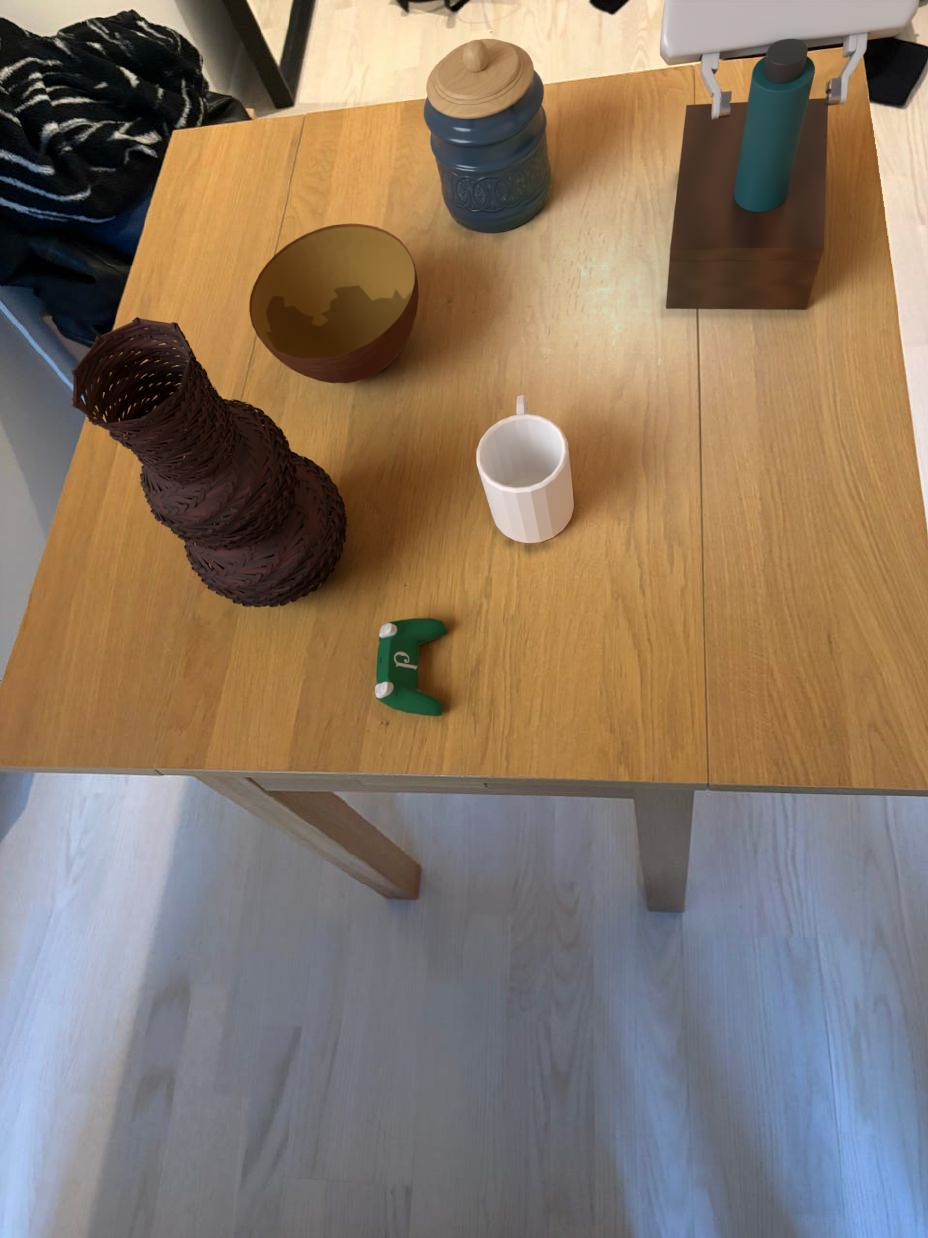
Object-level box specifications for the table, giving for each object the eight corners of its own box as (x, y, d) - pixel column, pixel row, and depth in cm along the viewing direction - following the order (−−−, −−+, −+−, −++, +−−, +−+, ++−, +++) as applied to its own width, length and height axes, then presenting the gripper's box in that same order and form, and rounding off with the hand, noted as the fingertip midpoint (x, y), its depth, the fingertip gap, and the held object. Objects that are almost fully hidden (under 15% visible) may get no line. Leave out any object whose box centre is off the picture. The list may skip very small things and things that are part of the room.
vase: (381, 499, 82) (261, 278, 54) (349, 638, 76) (198, 471, 49) (246, 491, 85) (70, 279, 58) (206, 624, 80) (-8, 460, 53)
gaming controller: (429, 631, 77) (375, 616, 74) (451, 619, 74) (395, 604, 71) (425, 723, 74) (367, 712, 71) (447, 715, 71) (388, 703, 68)
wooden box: (811, 167, 88) (828, 97, 81) (806, 309, 81) (824, 247, 74) (681, 171, 91) (686, 104, 84) (665, 308, 84) (670, 248, 77)
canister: (465, 251, 92) (433, 106, 76) (431, 182, 98) (394, 32, 82) (569, 208, 92) (559, 53, 76) (529, 140, 97) (511, -18, 81)
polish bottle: (788, 173, 78) (820, 28, 65) (786, 211, 76) (819, 69, 64) (735, 175, 79) (756, 32, 67) (732, 212, 77) (753, 73, 65)
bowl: (468, 336, 88) (451, 266, 79) (360, 447, 85) (328, 388, 76) (360, 271, 94) (332, 200, 85) (256, 372, 91) (215, 309, 82)
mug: (569, 435, 81) (563, 371, 72) (576, 540, 76) (570, 486, 67) (491, 443, 82) (475, 382, 73) (493, 547, 77) (476, 495, 68)
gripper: (659, -84, 63) (656, 118, 68) (942, -131, 59) (915, 88, 64) (656, -54, 69) (653, 130, 74) (913, -95, 65) (891, 103, 70)
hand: (777, 110), depth 69 cm, fingers open, 8 cm apart
